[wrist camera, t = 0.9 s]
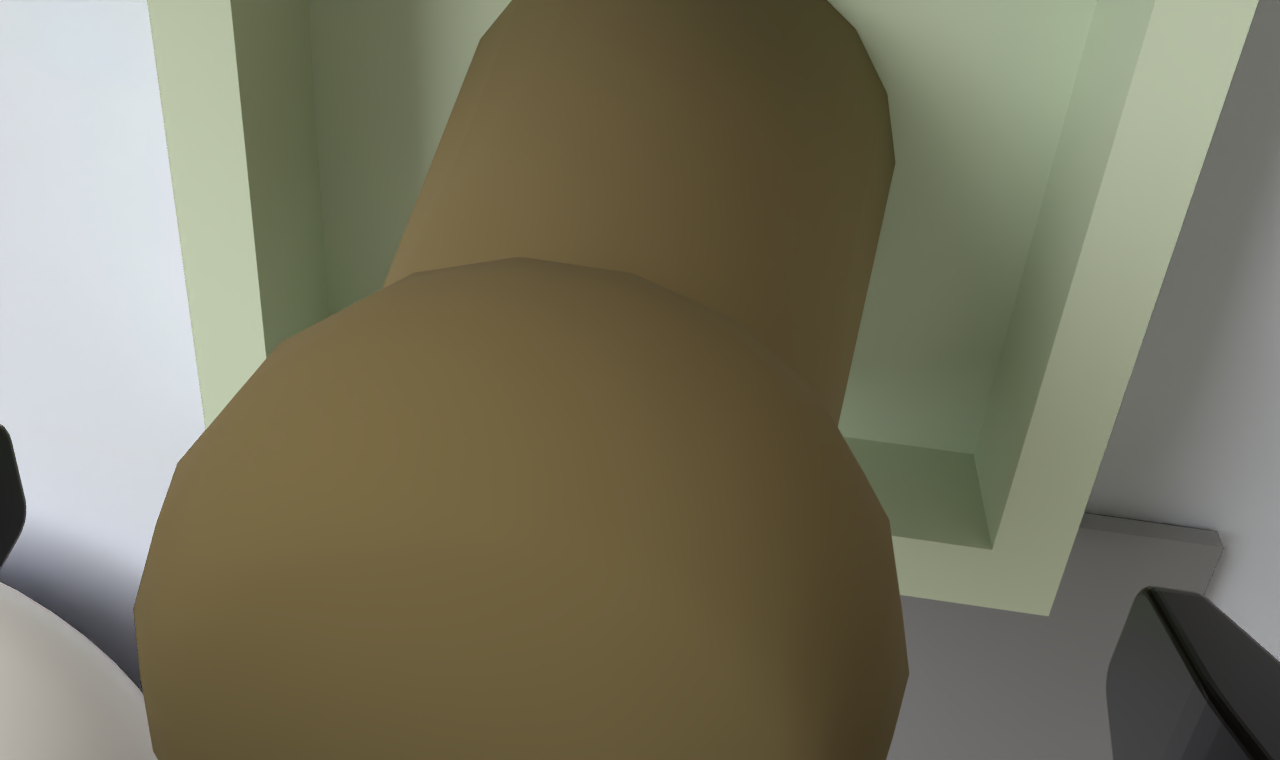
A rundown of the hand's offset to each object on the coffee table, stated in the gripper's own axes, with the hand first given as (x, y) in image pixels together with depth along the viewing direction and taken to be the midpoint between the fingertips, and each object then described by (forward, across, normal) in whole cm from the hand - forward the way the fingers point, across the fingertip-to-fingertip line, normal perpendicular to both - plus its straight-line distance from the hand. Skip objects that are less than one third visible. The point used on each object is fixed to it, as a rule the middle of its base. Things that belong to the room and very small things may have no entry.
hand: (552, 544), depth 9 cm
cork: (+8, 0, 0) cm, 8 cm away
